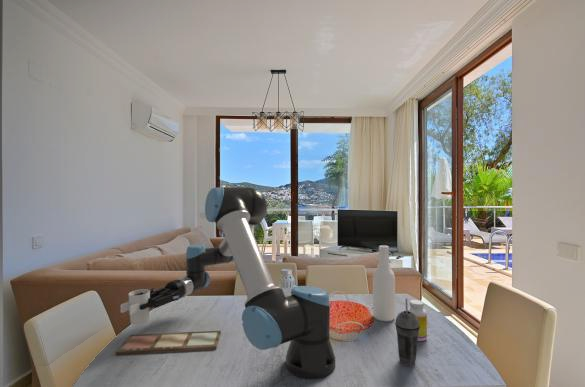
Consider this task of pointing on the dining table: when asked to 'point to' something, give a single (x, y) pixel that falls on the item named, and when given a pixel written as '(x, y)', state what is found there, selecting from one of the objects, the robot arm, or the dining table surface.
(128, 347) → the tile board
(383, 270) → the white bottle
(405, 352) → the beverage cup
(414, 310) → the supplement bottle
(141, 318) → the white coffee cup
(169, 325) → the dining table surface
